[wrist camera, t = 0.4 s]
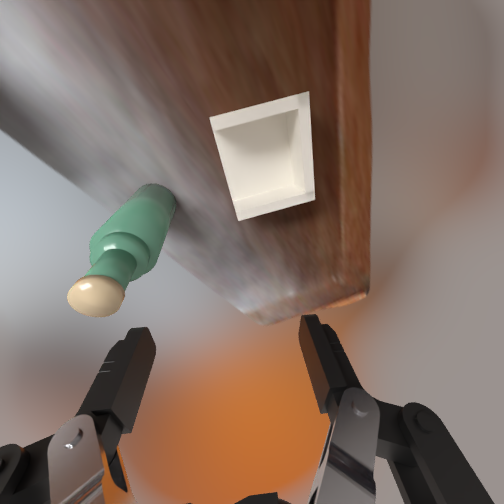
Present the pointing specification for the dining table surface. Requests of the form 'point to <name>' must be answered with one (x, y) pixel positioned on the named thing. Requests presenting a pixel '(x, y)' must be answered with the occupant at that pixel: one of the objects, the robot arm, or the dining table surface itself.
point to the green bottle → (124, 250)
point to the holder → (267, 155)
